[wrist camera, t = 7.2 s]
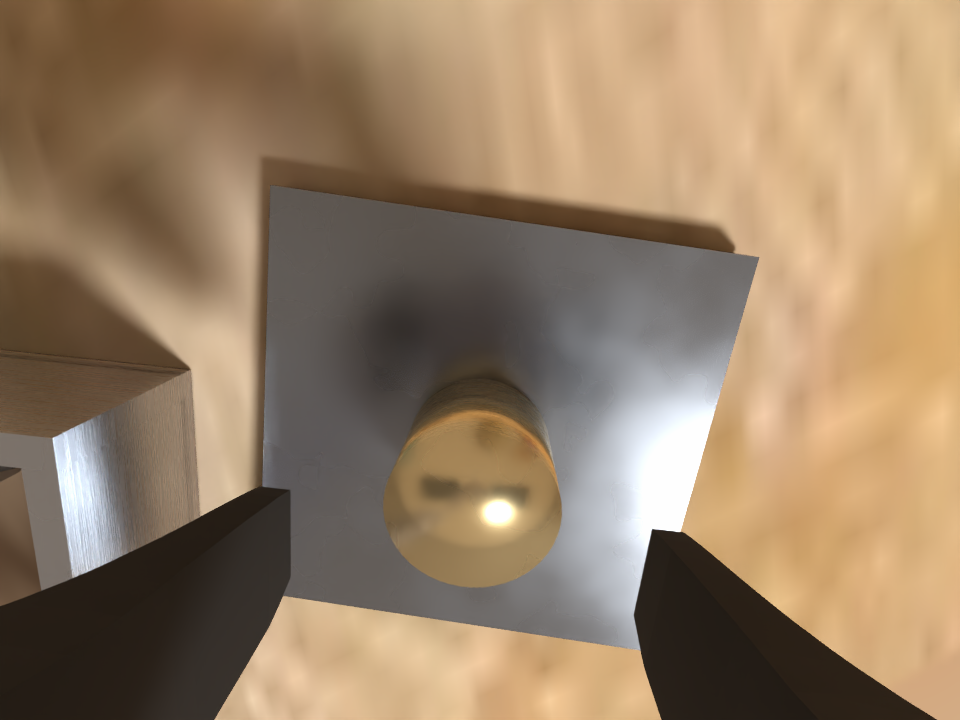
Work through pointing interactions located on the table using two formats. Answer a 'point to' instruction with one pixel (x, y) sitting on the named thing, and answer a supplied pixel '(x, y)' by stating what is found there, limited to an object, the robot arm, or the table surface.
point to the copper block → (16, 541)
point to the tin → (97, 455)
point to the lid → (486, 408)
